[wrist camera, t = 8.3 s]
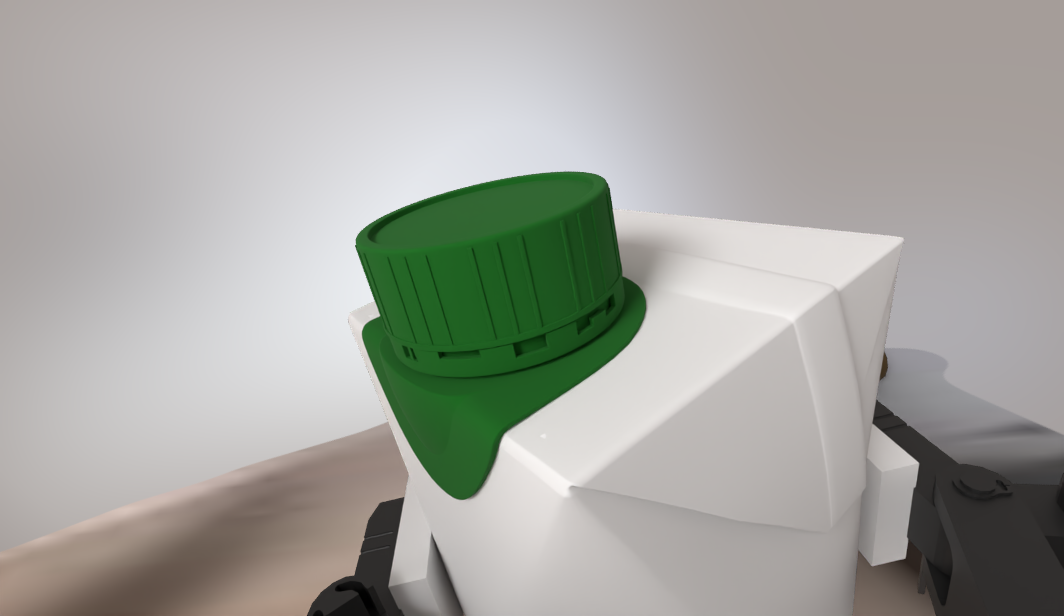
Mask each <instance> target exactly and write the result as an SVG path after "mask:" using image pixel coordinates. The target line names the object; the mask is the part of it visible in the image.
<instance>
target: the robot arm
mask: <svg viewBox="0 0 1064 616" xmlns="http://www.w3.org/2000/svg"><path fill="white" fill-rule="evenodd" d="M364 539H365V540H364V541H363V544H362V548H361V555H359V559H358V563H357V567H356V571H355V575H354V576H348V577H344V578H342V579H340V580H338V581H336V582H334V583H332V584H331V585H330V586H328V587H327V588H326V589H325V590H323V591H322V592H321V593H320V594H319V596H318V597H317V598H316V599H315V601H314V602H313V603H312V605H311V607H310V610H309V612H308V614H307V616H463V611H462V608H461V606H460V603H459V601H458V598H457V596H456V593H455V591H454V588H453V585H452V583H451V580H450V578H449V575H448V573H447V570H446V568H445V565H444V563H443V560H442V558H441V555H440V553H439V550H438V548H437V545H436V542H435V540H434V537H433V535H432V532H431V530H430V527H429V525H428V522H427V519H426V517H425V514H424V512H423V509H422V507H421V504H420V501H419V499H418V496H417V494H416V491H415V488H414V486H413V483H412V481H411V478H410V476H408V481H407V487H406V492H405V497H403V498H399V499H395V500H390V501H386V502H382V503H380V504H379V505H378V507H377V508H376V510H375V511H374V513H373V514H372V516H371V517H370V519H369V520H368V524H367V528H366V532H365V536H364ZM908 539H909V540H910V541H911V542H912V543H913V544H914V545H915V546H916V547H917V548H918V549H919V550H920V552H921V553H922V554H923V555H922V561H921V567H920V573H919V579H918V593H920V594H924V593H925V587H926V584H927V588H928V591H929V594H930V597H931V601H932V604H933V607H934V610H935V614H936V616H1064V473H1063V474H1062V478H1061V481H1060V484H1059V485H1033V484H1012V483H1011V482H1010V481H1009V480H1007V479H1006V478H1004V477H1002V476H1001V475H999V474H998V473H995V472H993V471H990V470H988V469H985V468H982V467H978V466H973V465H968V464H958V463H957V462H955V461H954V460H953V459H952V458H950V457H949V456H948V455H946V454H945V453H944V452H943V451H941V450H940V449H939V448H937V447H936V446H935V445H934V444H932V443H931V442H930V441H928V440H927V439H926V438H925V437H923V436H922V435H921V434H919V433H918V432H917V431H916V430H914V429H913V428H912V427H910V426H907V424H906V423H905V422H904V421H903V420H902V419H900V418H899V417H898V416H894V414H893V412H891V411H890V410H889V409H887V408H886V407H885V406H884V405H882V404H881V403H880V402H878V401H877V400H876V404H875V410H874V416H873V422H872V428H871V434H870V441H869V447H868V453H867V460H866V488H865V489H864V490H863V492H862V498H861V510H860V526H859V542H858V550H859V551H860V552H861V554H862V555H863V556H864V557H865V558H866V560H867V561H868V562H869V563H870V565H871V566H875V565H880V564H884V563H888V562H892V561H897V560H901V559H905V558H906V552H907V545H908Z"/></svg>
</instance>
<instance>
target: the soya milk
mask: <svg viewBox="0 0 1064 616" xmlns="http://www.w3.org/2000/svg"><path fill="white" fill-rule="evenodd" d="M903 243H904V238H901V237H895V236H886V235H876V234H866V233H856V232H845V231H836V230H824V229H815V228H805V227H794V226H784V225H774V224H764V223H753V222H743V221H732V220H723V219H712V218H701V217H692V216H682V215H671V214H661V213H650V212H640V211H630V210H620V209H613V208H612V201H611V195H610V188H609V187H608V183H607V182H606V180H605V179H604V178H603V177H601V176H599V175H596V174H592V173H586V172H551V173H540V174H531V175H524V176H517V177H512V178H506V179H500V180H495V181H491V182H486V183H481V184H477V185H473V186H469V187H465V188H461V189H457V190H454V191H450V192H447V193H444V194H440V195H437V196H433V197H430V198H427V199H424V200H422V201H419V202H416V203H413V204H411V205H408V206H405V207H403V208H401V209H398V210H396V211H394V212H391V213H389V214H387V215H385V216H383V217H381V218H379V219H377V220H376V221H374V222H372V223H371V224H369V225H368V226H366V227H365V228H364V229H363V230H362V231H361V232H360V233H359V234H358V236H357V238H356V245H355V247H356V250H357V252H358V255H359V258H360V261H361V264H362V266H363V269H364V272H365V275H366V278H367V280H368V283H369V286H370V289H371V292H372V294H373V297H374V300H375V301H374V302H372V303H369V304H367V305H365V306H363V307H361V308H359V309H357V310H355V311H352V312H350V315H349V318H348V322H349V325H350V327H351V330H352V332H353V334H354V337H355V340H356V342H357V344H358V347H359V349H360V352H361V354H362V357H363V359H364V362H365V364H366V367H367V370H368V372H369V374H370V377H371V380H372V382H373V385H374V387H375V389H376V392H377V395H378V397H379V399H380V402H381V405H382V407H383V410H384V412H385V415H386V417H387V420H388V422H389V425H390V427H391V430H392V433H393V435H394V438H395V440H396V443H397V445H398V448H399V450H400V453H401V455H402V458H403V460H404V463H405V465H406V468H407V471H408V473H409V476H410V478H411V481H412V483H413V486H414V488H415V491H416V494H417V496H418V499H419V501H420V504H421V507H422V509H423V512H424V514H425V517H426V519H427V522H428V525H429V527H430V530H431V532H432V535H433V537H434V540H435V542H436V545H437V548H438V550H439V553H440V555H441V558H442V560H443V563H444V565H445V568H446V570H447V573H448V575H449V578H450V580H451V583H452V585H453V588H454V591H455V593H456V596H457V598H458V601H459V603H460V606H461V608H462V611H463V613H464V616H852V615H853V604H854V593H855V582H856V570H857V559H858V542H859V526H860V510H861V498H862V492H863V490H864V489H865V488H866V460H867V453H868V447H869V441H870V434H871V428H872V422H873V416H874V410H875V404H876V398H877V391H878V385H879V379H880V373H881V367H882V361H883V355H884V349H885V343H886V337H887V330H888V324H889V318H890V312H891V306H892V300H893V294H894V288H895V282H896V276H897V270H898V265H899V260H900V254H901V251H902V247H903Z"/></svg>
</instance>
